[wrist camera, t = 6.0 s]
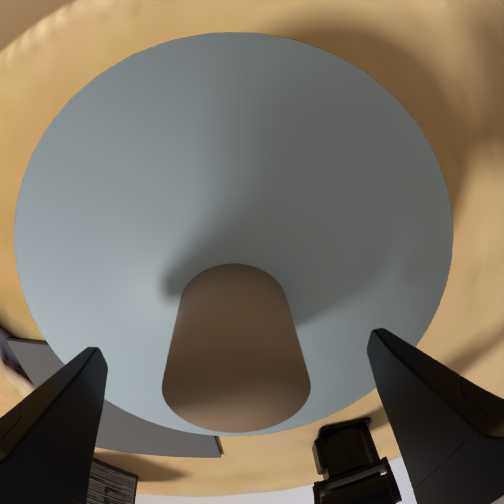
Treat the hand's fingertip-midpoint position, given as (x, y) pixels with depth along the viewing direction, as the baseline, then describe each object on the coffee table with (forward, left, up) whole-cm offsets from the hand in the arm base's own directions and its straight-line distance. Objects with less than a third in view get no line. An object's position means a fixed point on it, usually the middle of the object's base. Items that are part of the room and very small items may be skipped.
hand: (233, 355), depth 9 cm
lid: (0, 0, -3) cm, 3 cm away
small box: (+25, +39, -10) cm, 48 cm away
